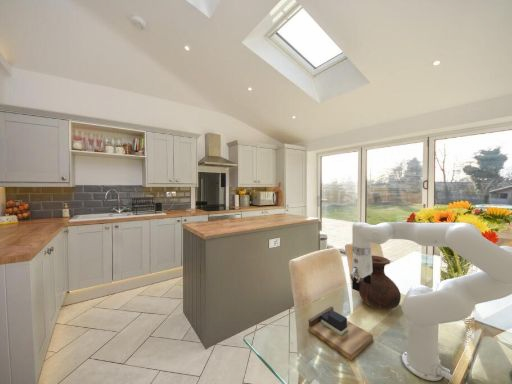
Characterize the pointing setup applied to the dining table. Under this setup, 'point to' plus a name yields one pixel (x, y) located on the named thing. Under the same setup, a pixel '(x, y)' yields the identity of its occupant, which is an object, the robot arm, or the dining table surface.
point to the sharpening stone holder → (341, 336)
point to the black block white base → (335, 322)
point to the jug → (380, 287)
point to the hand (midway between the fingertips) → (361, 286)
